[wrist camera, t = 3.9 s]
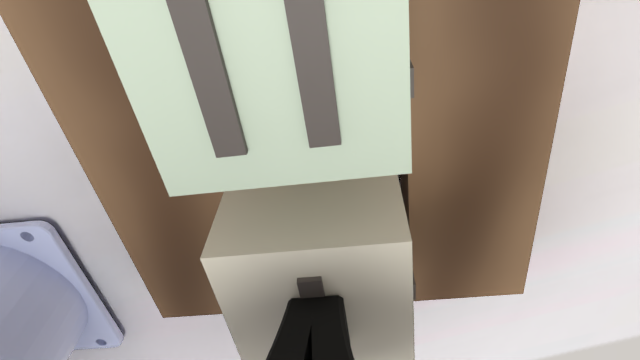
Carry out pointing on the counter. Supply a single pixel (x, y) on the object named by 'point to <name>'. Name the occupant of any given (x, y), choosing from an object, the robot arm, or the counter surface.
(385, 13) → the tile two
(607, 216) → the counter surface
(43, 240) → the robot arm
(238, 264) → the tile one
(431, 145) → the frame
